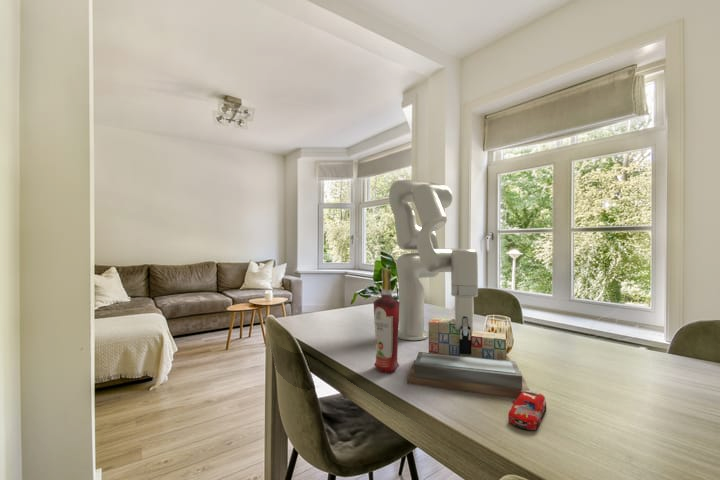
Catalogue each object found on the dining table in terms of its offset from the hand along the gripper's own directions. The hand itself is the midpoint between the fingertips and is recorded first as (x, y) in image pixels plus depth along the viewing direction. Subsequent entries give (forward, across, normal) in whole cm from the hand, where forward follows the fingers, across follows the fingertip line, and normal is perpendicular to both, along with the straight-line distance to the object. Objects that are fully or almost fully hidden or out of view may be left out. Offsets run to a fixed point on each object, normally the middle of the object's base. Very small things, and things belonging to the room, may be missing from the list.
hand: (465, 348), depth 96 cm
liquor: (+4, +12, -21) cm, 25 cm away
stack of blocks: (+5, 0, 0) cm, 5 cm away
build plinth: (+4, +13, 0) cm, 14 cm away
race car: (+5, +27, +12) cm, 30 cm away
